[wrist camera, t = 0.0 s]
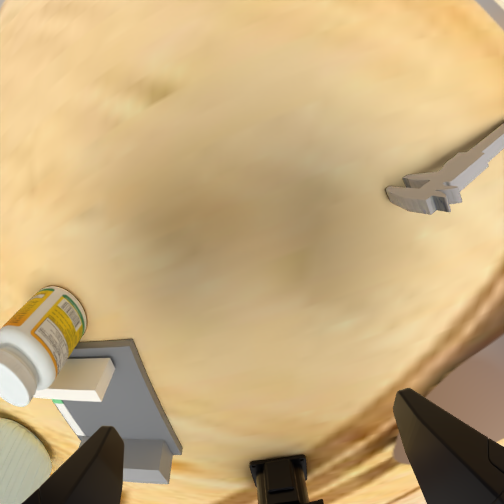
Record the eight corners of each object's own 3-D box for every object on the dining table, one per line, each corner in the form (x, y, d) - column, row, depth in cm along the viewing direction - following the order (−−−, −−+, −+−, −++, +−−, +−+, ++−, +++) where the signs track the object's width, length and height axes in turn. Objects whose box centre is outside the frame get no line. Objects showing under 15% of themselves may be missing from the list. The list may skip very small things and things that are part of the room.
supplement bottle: (92, 299, 23) (38, 378, 14) (84, 347, 25) (40, 426, 16) (38, 273, 22) (-30, 337, 13) (34, 323, 24) (-20, 390, 15)
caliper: (386, 201, 22) (433, 225, 16) (381, 187, 21) (427, 208, 16) (535, 110, 19) (581, 115, 13) (532, 99, 19) (578, 102, 13)
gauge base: (182, 447, 30) (178, 484, 25) (90, 444, 30) (79, 475, 25) (132, 339, 24) (115, 379, 20) (27, 343, 24) (3, 375, 20)
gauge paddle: (115, 368, 24) (101, 401, 20) (30, 368, 24) (12, 394, 20) (110, 357, 23) (95, 390, 20) (24, 358, 23) (6, 384, 20)
